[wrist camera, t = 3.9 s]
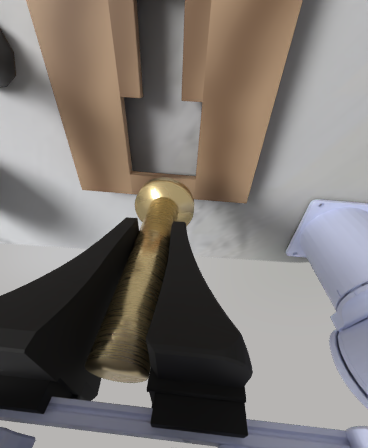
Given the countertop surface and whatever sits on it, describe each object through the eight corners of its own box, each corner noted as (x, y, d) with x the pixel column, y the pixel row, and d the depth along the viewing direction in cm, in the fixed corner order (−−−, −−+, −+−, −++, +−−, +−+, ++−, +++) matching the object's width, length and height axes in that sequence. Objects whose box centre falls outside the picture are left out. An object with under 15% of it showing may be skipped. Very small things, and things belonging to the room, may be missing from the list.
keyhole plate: (347, -223, 9) (386, -302, 7) (242, 192, 21) (246, 203, 19) (-9, -223, 9) (-62, -295, 7) (92, 179, 21) (82, 189, 20)
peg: (194, 177, 13) (177, 351, 5) (194, 226, 15) (183, 395, 7) (133, 177, 13) (23, 339, 5) (142, 225, 15) (78, 385, 8)
